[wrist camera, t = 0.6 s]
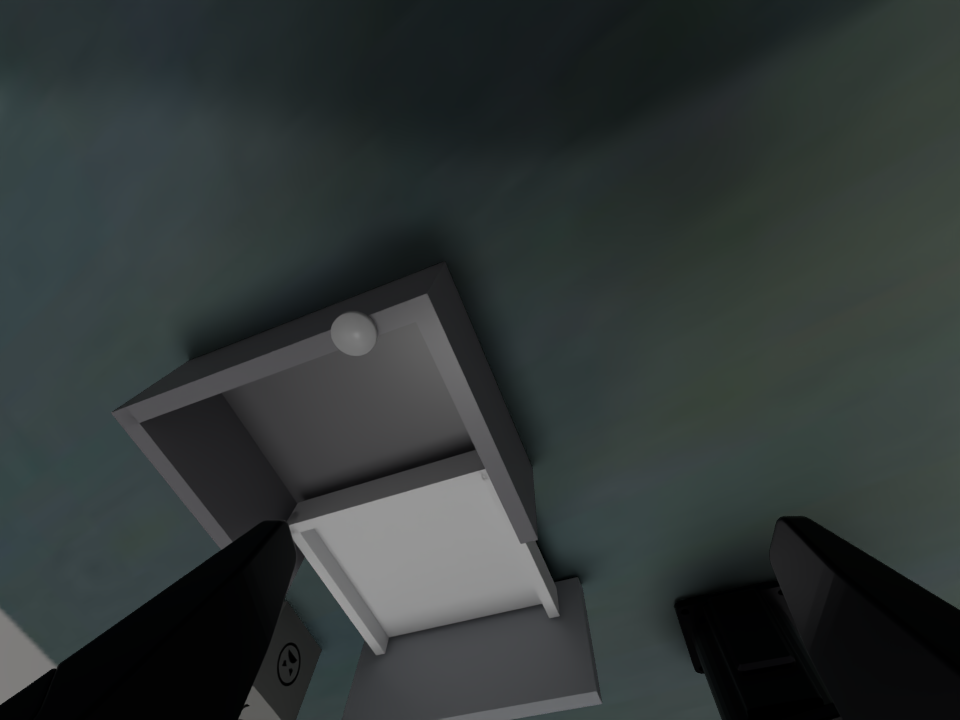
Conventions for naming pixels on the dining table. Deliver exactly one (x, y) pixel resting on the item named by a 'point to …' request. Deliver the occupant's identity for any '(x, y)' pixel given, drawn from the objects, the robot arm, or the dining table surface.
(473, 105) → the dining table surface
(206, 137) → the dining table surface
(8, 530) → the dining table surface
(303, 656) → the dice cube
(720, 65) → the dining table surface
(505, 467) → the housing
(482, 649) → the tray
